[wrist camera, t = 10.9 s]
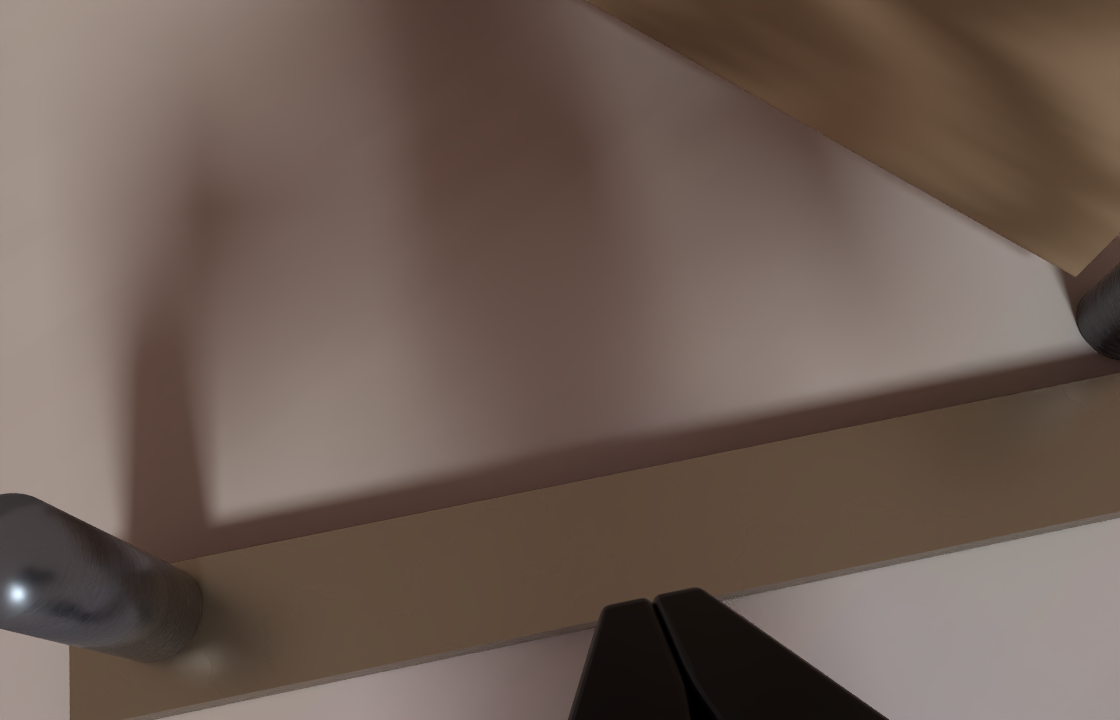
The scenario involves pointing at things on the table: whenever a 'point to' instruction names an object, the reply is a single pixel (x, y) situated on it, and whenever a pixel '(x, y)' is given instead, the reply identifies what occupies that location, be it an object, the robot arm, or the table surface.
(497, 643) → the gate frame
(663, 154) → the table surface
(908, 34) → the gate leaf
